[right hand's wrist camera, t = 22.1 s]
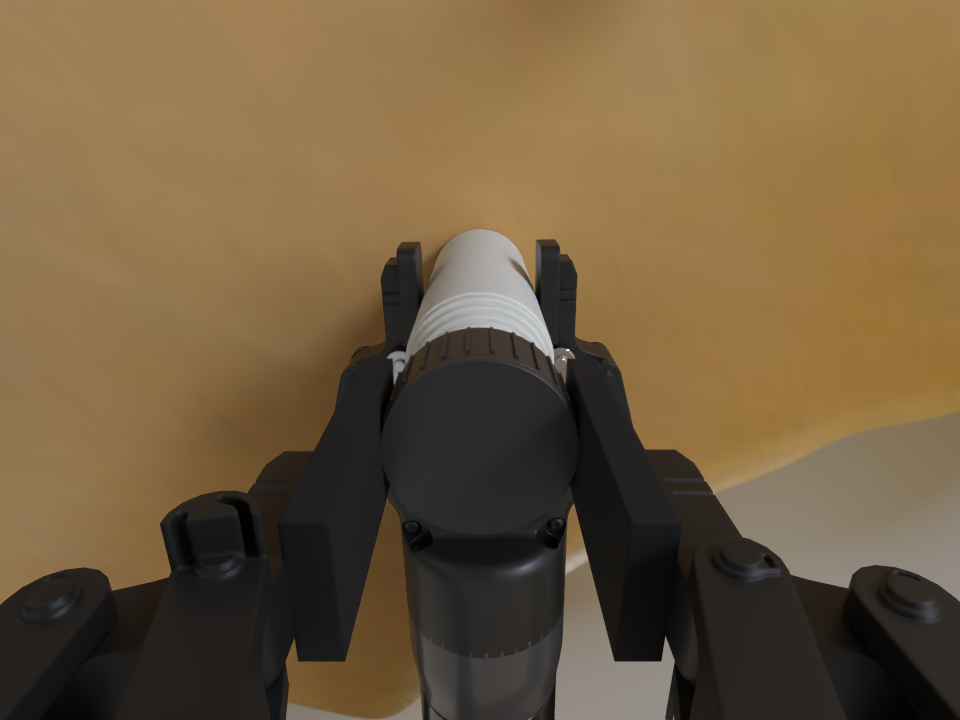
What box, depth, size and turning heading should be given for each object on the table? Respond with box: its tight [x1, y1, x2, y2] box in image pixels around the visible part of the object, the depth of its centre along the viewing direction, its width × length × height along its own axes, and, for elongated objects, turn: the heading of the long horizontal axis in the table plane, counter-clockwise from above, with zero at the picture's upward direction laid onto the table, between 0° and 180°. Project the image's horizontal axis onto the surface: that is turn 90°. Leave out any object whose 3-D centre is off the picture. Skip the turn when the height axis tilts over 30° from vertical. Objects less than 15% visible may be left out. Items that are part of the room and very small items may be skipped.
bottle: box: [405, 229, 554, 365], centre depth 21 cm, size 5×5×17 cm
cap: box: [381, 327, 579, 535], centre depth 14 cm, size 4×5×2 cm
